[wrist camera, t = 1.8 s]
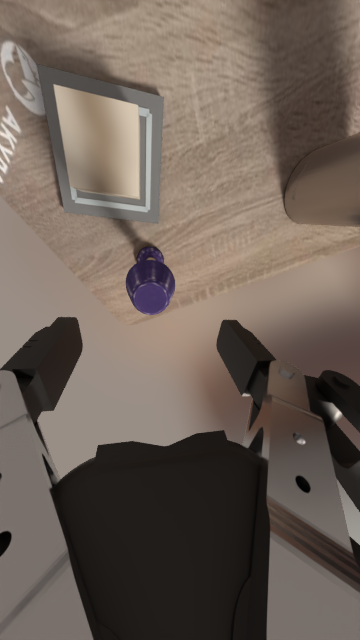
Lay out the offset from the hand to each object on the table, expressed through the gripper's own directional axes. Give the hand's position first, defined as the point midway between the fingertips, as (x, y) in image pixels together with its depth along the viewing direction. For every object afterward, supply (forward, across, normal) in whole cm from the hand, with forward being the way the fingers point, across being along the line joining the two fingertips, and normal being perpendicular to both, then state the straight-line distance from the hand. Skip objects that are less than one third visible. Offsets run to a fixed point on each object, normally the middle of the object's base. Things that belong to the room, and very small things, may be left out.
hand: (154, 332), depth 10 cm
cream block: (+20, +5, -11) cm, 23 cm away
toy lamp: (+21, 0, 0) cm, 21 cm away
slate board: (+21, +5, -11) cm, 24 cm away
